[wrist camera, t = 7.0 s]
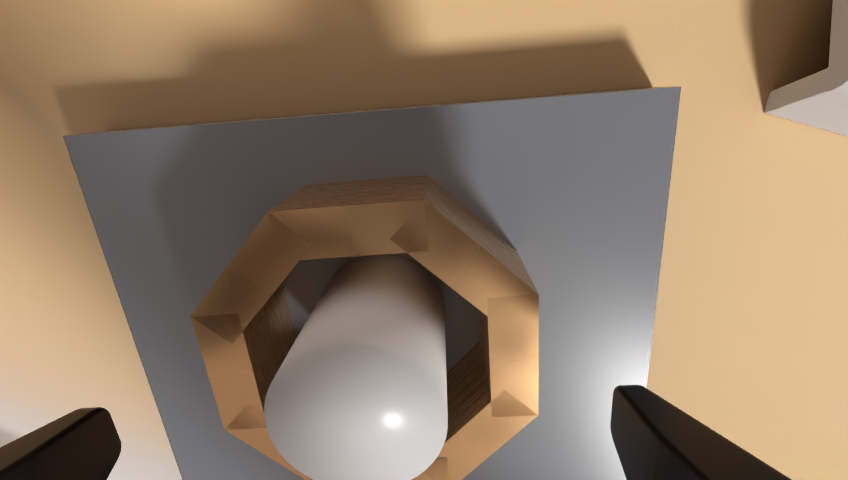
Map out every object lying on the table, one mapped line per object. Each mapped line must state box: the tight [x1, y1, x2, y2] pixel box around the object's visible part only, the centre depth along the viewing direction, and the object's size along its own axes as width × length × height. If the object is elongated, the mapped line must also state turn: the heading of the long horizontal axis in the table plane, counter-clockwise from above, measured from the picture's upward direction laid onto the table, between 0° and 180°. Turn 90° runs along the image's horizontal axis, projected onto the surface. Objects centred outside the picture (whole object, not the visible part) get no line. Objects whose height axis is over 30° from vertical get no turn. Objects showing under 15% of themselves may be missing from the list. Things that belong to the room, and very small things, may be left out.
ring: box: [190, 175, 539, 480], centre depth 10 cm, size 7×7×2 cm
